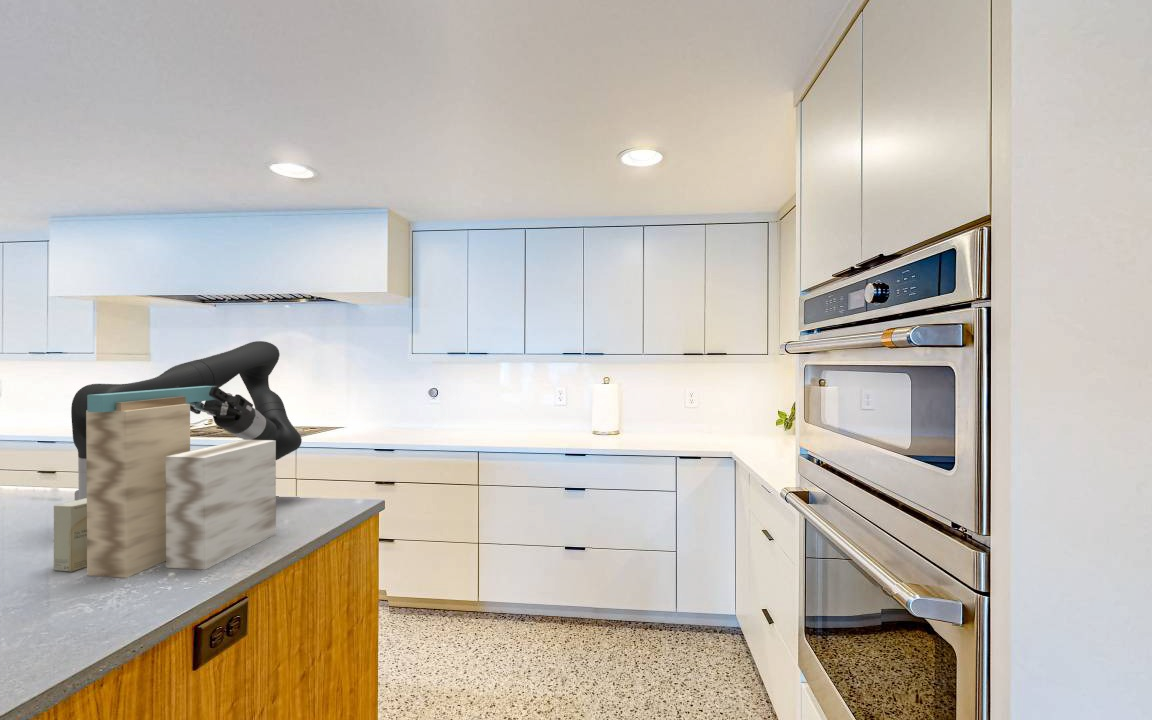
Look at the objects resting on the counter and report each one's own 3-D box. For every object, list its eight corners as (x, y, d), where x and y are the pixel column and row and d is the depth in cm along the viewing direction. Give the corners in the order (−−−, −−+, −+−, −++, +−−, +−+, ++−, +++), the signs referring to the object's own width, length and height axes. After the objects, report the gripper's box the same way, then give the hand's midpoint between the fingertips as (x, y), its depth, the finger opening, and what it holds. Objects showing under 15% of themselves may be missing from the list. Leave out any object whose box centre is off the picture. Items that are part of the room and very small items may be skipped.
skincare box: (71, 572, 100) (70, 506, 99) (52, 570, 100) (51, 505, 100) (107, 560, 106) (106, 497, 106) (88, 558, 107) (88, 496, 106)
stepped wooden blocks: (87, 575, 98) (86, 402, 98) (197, 530, 123) (197, 392, 123) (182, 581, 96) (182, 404, 96) (275, 534, 121) (275, 393, 121)
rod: (87, 411, 96) (87, 394, 96) (204, 399, 122) (204, 385, 122) (102, 412, 95) (102, 395, 95) (216, 399, 121) (216, 386, 121)
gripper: (219, 404, 134) (170, 374, 119) (273, 405, 132) (230, 374, 118) (207, 433, 130) (156, 405, 116) (263, 434, 128) (217, 406, 114)
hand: (193, 390), depth 117 cm, fingers open, 8 cm apart
